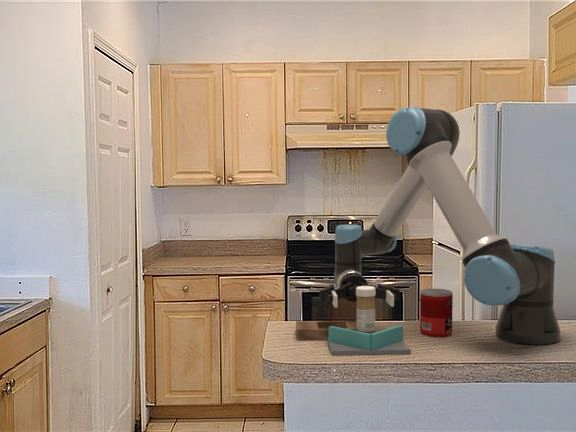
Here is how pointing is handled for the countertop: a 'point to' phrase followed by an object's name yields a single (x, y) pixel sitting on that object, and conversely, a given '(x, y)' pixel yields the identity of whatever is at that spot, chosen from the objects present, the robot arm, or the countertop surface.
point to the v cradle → (367, 342)
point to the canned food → (436, 312)
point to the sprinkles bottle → (366, 309)
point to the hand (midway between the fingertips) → (364, 301)
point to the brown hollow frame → (320, 328)
